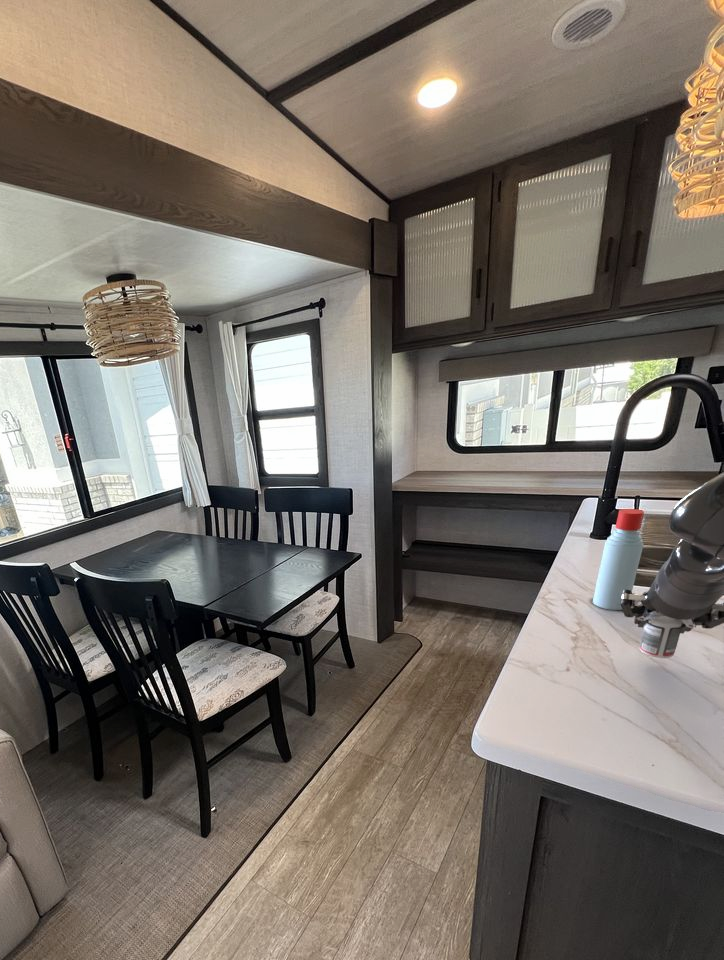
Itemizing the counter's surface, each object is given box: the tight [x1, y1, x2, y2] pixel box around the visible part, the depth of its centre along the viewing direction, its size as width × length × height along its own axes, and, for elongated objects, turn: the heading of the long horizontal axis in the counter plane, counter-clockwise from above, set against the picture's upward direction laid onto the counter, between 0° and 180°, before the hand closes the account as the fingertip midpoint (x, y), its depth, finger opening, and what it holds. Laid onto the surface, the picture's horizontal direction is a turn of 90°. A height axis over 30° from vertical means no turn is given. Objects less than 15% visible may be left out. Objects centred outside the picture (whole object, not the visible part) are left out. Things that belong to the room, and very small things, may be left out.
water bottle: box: [592, 528, 644, 611], centre depth 98 cm, size 6×6×20 cm
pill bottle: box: [639, 616, 683, 659], centre depth 78 cm, size 5×5×8 cm
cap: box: [615, 508, 645, 531], centre depth 94 cm, size 4×4×3 cm
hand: (660, 624), depth 80 cm, fingers closed on pill bottle, 4 cm apart
